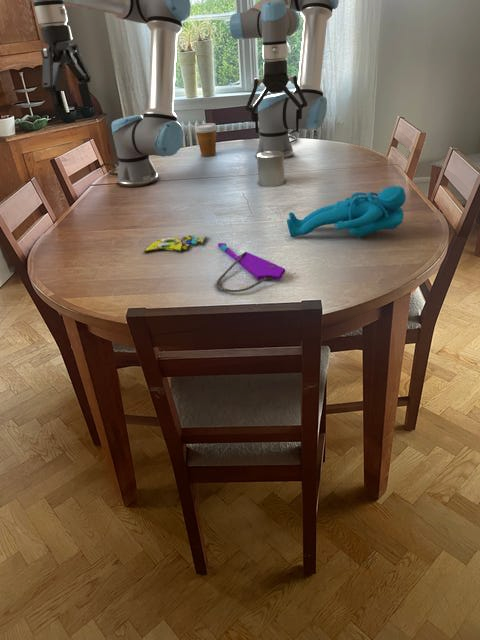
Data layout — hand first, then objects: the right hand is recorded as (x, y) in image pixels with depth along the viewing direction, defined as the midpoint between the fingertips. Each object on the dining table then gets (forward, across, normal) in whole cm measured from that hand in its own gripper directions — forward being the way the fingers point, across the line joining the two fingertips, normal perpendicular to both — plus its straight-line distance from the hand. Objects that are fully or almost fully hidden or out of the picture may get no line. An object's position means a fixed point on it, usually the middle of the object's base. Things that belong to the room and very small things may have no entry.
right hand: (277, 131), depth 162 cm
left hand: (-14, -57, -28) cm, 65 cm away
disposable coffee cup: (+16, -31, +43) cm, 56 cm away
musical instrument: (+18, -9, -69) cm, 72 cm away
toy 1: (+18, -27, -52) cm, 62 cm away
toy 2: (+18, +18, -50) cm, 56 cm away
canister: (+17, -2, -2) cm, 17 cm away
